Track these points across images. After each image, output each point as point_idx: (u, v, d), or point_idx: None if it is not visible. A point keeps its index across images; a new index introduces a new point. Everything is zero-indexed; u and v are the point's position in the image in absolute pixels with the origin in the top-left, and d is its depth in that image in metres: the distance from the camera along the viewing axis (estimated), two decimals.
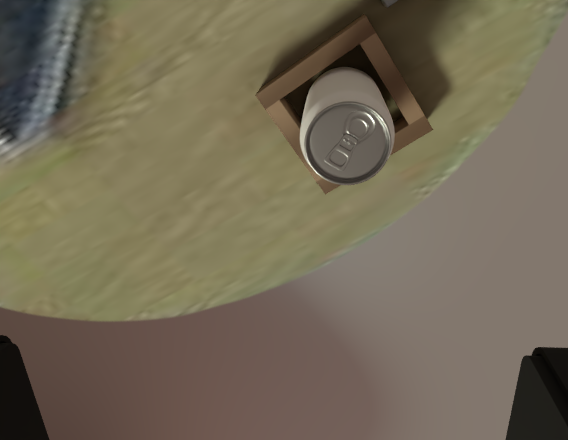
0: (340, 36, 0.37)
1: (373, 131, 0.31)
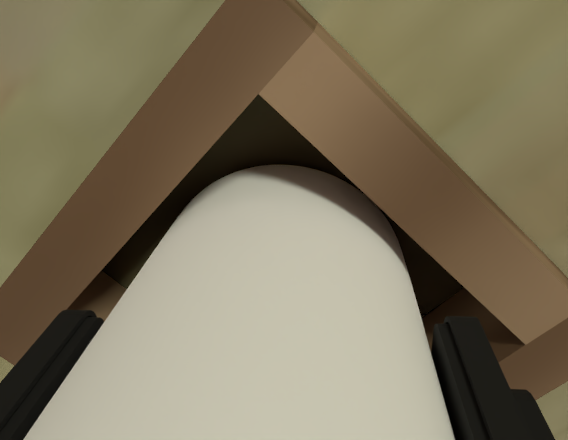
0: None
1: None
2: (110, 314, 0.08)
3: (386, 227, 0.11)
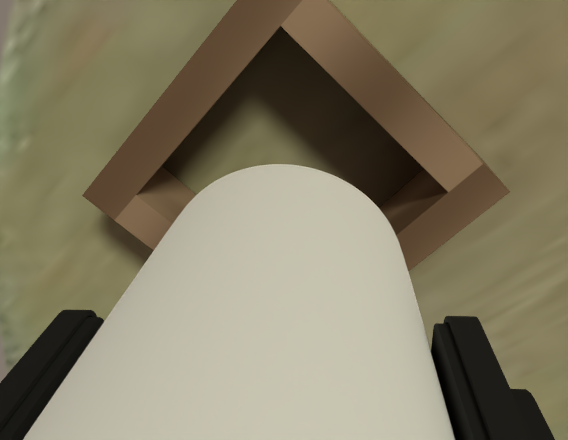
0: None
1: None
2: (110, 313, 0.08)
3: (386, 226, 0.11)
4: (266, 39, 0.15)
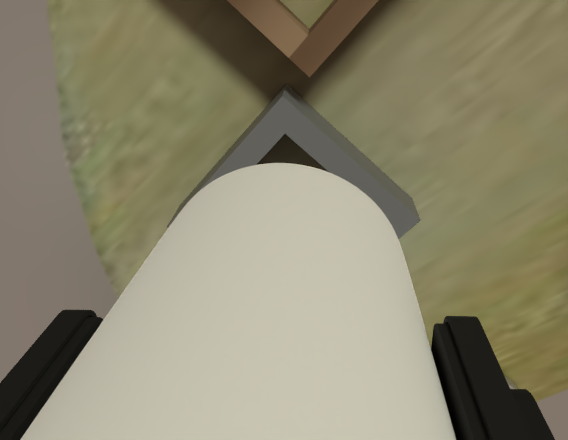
0: (340, 38, 0.24)
1: None
2: (109, 312, 0.08)
3: (386, 225, 0.11)
4: None
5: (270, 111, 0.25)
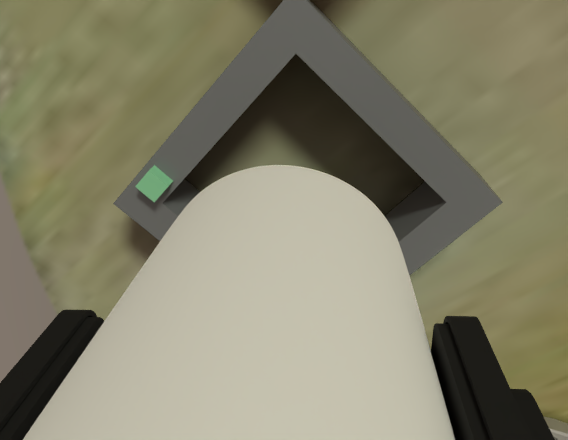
0: None
1: None
2: (109, 315, 0.08)
3: (386, 228, 0.11)
4: None
5: (273, 15, 0.16)
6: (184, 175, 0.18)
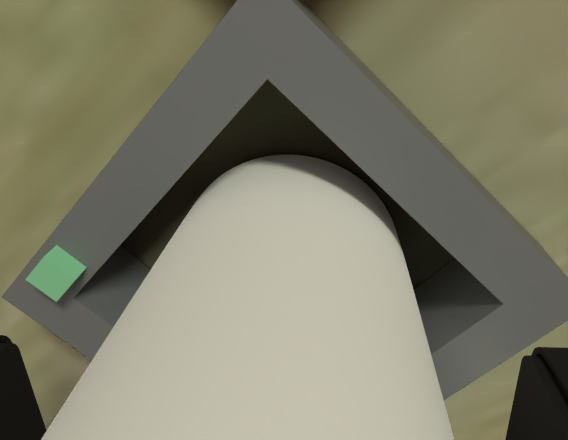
0: None
1: None
2: (145, 279, 0.09)
3: (382, 210, 0.13)
4: None
5: (229, 16, 0.10)
6: (102, 260, 0.12)
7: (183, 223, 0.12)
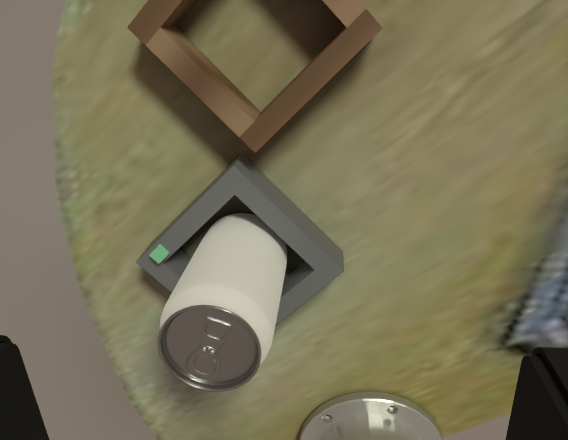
0: (279, 126, 0.30)
1: (185, 363, 0.27)
2: (195, 254, 0.31)
3: (277, 235, 0.35)
4: None
5: (223, 176, 0.32)
6: (175, 249, 0.34)
7: (205, 237, 0.34)
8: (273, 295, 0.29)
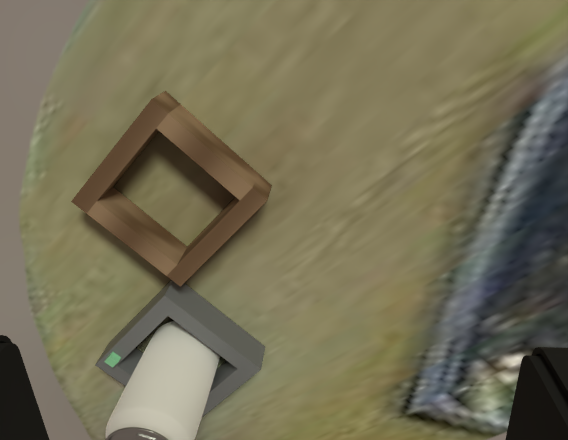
0: (197, 267, 0.38)
1: None
2: (137, 366, 0.40)
3: None
4: (150, 133, 0.34)
5: (157, 303, 0.40)
6: (125, 355, 0.42)
7: (148, 346, 0.42)
8: (195, 404, 0.37)
